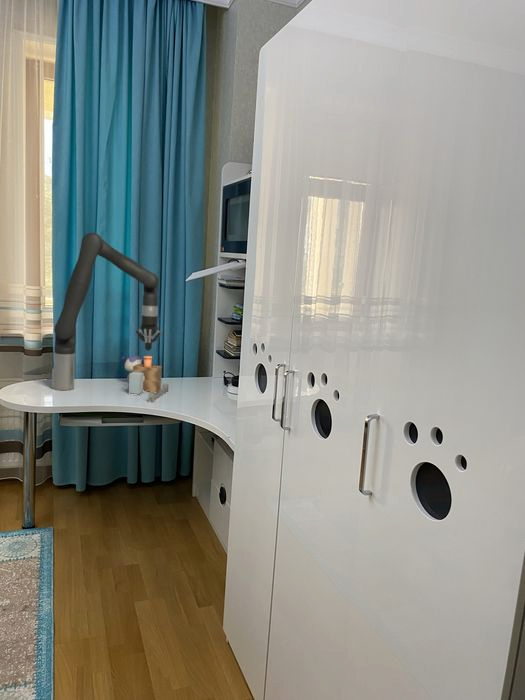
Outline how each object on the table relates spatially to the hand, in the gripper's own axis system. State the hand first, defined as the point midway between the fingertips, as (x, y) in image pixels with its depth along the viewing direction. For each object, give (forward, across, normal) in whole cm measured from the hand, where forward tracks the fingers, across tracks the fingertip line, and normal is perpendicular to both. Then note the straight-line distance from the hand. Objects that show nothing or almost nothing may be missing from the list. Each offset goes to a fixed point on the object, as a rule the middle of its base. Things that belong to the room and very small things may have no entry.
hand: (148, 350), depth 288 cm
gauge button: (+11, 0, 0) cm, 11 cm away
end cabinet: (+20, 0, 0) cm, 20 cm away
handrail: (+20, -9, +10) cm, 24 cm away
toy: (+20, +10, -9) cm, 24 cm away
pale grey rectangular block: (+20, +2, +9) cm, 22 cm away
